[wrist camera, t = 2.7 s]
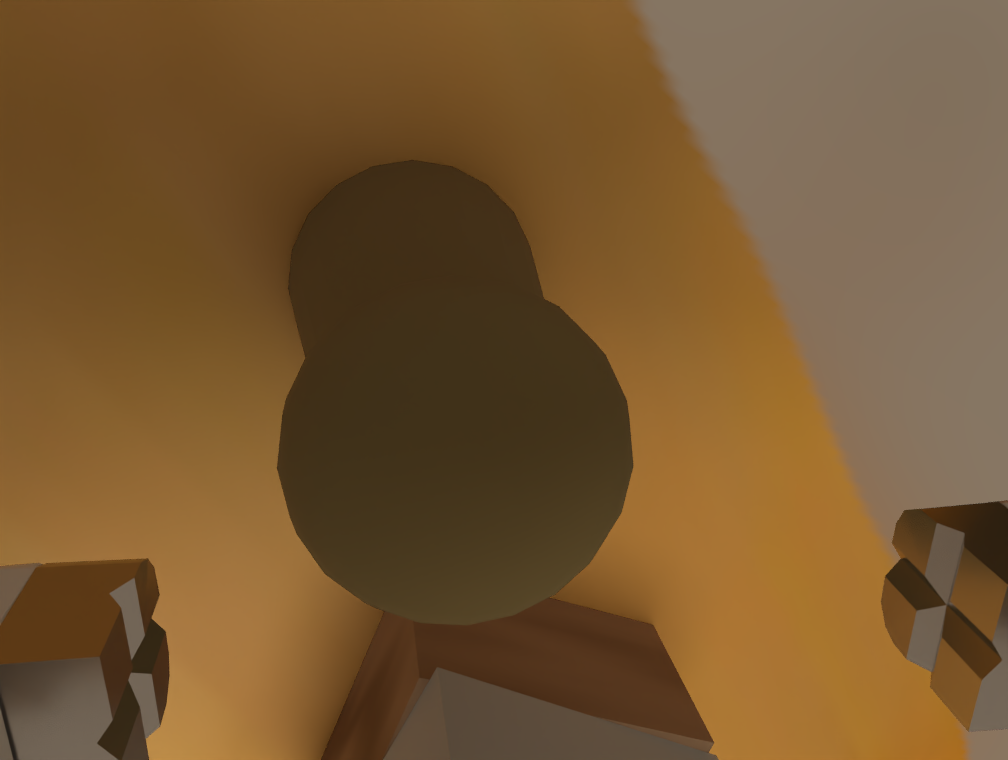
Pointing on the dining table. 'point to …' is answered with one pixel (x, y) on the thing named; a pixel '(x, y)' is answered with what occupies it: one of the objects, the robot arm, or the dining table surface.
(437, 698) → the grey block
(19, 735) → the robot arm
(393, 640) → the walnut block
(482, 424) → the cork
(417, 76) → the dining table surface
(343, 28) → the dining table surface
